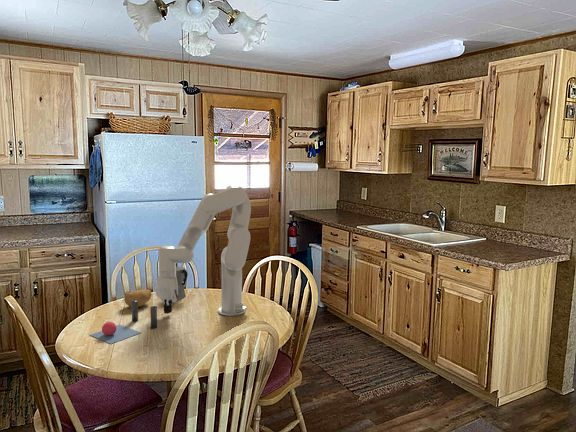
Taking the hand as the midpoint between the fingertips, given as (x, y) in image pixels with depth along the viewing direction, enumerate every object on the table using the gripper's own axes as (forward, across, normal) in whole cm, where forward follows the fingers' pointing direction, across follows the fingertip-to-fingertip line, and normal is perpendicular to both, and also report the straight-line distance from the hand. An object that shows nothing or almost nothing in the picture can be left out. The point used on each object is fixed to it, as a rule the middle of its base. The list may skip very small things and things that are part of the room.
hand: (167, 312), depth 202 cm
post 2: (+2, +6, -13) cm, 15 cm away
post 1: (+2, -6, -13) cm, 15 cm away
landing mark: (+2, 0, -27) cm, 27 cm away
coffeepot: (+2, -17, +21) cm, 27 cm away
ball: (-1, -1, -29) cm, 29 cm away
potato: (+2, -21, 0) cm, 21 cm away
